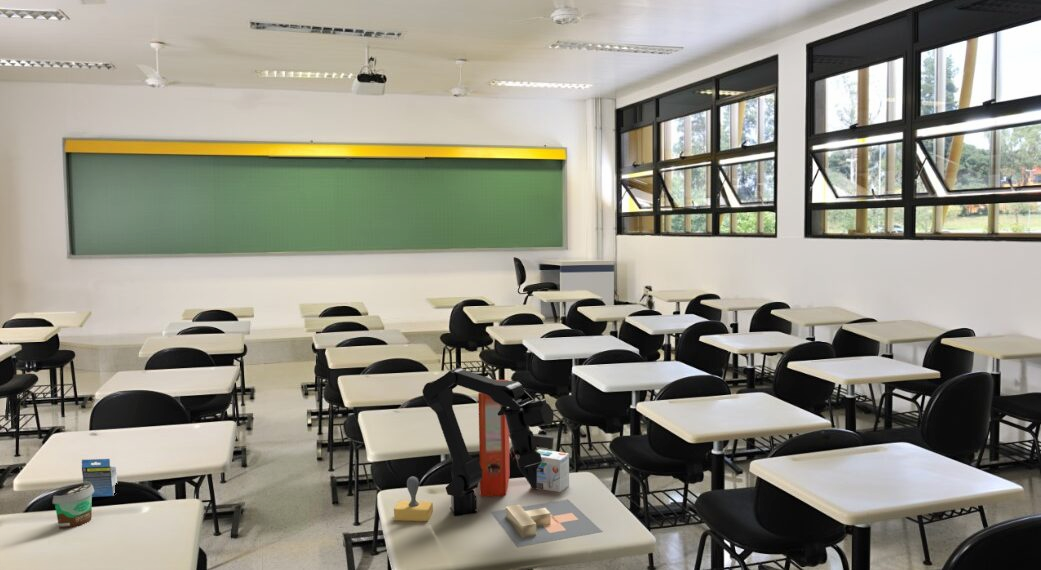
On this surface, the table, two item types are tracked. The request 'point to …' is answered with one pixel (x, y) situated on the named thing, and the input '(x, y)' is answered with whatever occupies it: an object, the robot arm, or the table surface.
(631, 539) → the table surface
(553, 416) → the robot arm
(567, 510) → the mat
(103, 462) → the label tape box
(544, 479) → the light bulb box
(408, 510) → the rubber stamp
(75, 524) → the food container
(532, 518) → the t block
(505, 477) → the file binder
